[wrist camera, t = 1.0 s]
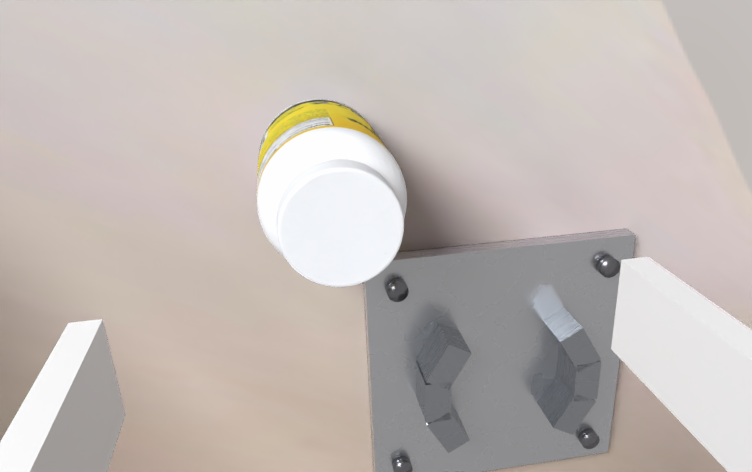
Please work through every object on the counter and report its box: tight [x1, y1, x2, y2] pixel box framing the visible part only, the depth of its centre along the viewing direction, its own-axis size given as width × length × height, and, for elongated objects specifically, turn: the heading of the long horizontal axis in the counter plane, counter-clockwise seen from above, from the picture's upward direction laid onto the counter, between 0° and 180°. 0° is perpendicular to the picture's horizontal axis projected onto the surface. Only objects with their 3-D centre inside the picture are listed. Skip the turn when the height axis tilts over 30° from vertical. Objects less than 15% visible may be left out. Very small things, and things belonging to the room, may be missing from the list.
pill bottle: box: [257, 99, 407, 287], centre depth 28 cm, size 6×6×11 cm
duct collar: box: [364, 229, 636, 472], centre depth 38 cm, size 16×16×4 cm
